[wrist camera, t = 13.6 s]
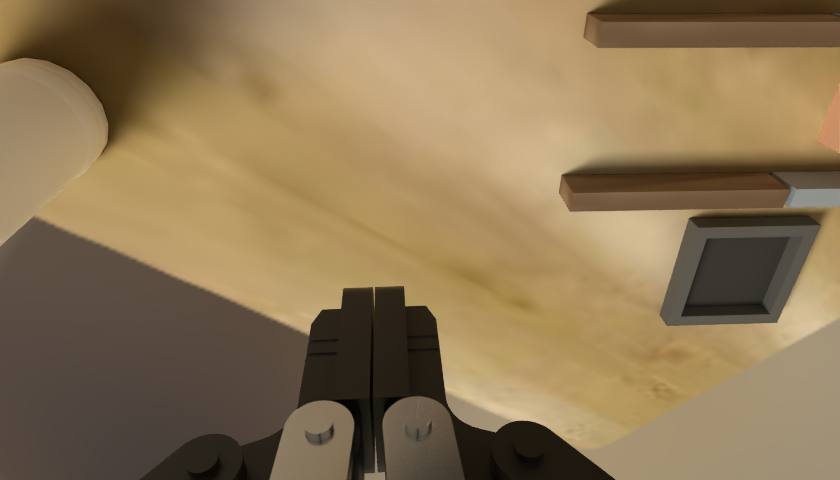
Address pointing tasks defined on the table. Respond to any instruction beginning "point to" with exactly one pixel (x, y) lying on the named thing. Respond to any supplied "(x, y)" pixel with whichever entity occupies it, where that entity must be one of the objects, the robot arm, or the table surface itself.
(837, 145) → the terracotta block
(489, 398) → the table surface
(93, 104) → the bottle
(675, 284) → the dark gray tray
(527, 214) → the table surface
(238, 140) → the table surface
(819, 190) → the slate bay
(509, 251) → the table surface
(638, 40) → the wooden bars
